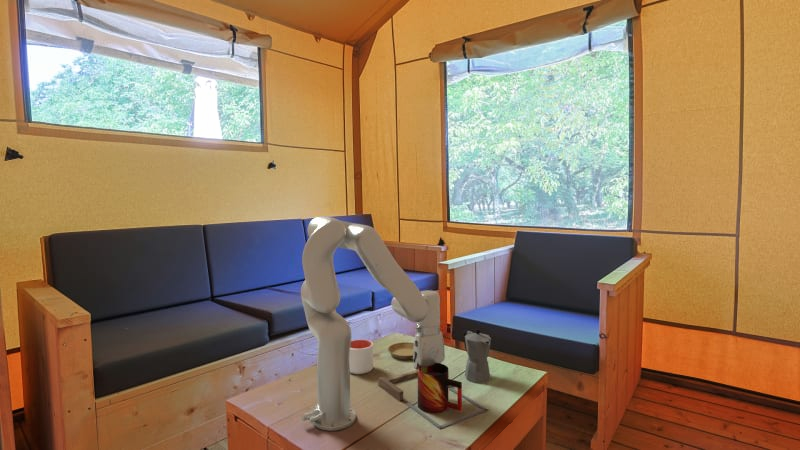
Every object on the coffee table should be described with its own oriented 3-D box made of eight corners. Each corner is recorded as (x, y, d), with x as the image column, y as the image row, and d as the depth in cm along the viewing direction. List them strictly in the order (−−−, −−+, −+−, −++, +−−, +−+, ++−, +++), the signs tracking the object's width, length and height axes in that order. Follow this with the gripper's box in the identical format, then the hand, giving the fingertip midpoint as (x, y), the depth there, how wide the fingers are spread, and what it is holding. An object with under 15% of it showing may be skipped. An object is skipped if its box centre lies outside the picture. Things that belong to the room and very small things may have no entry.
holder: (399, 401, 137) (399, 392, 137) (378, 385, 148) (378, 377, 148) (447, 385, 148) (447, 377, 148) (424, 371, 159) (424, 364, 159)
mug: (461, 415, 128) (462, 376, 127) (416, 412, 130) (416, 374, 129) (462, 399, 138) (462, 363, 137) (419, 397, 140) (419, 361, 139)
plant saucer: (430, 356, 175) (430, 349, 175) (402, 364, 167) (402, 358, 166) (408, 345, 187) (408, 339, 187) (380, 353, 178) (380, 347, 178)
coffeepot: (499, 382, 150) (500, 332, 149) (477, 387, 146) (478, 336, 145) (473, 366, 164) (473, 320, 163) (453, 371, 160) (453, 324, 159)
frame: (439, 429, 121) (439, 428, 121) (405, 404, 135) (405, 403, 135) (487, 410, 131) (487, 409, 131) (451, 388, 146) (451, 387, 146)
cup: (378, 368, 163) (378, 342, 162) (362, 377, 155) (362, 351, 154) (357, 362, 169) (357, 337, 168) (341, 371, 160) (340, 345, 159)
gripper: (416, 336, 132) (416, 394, 134) (453, 327, 140) (453, 381, 142) (402, 330, 138) (403, 385, 140) (438, 322, 146) (439, 373, 148)
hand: (428, 383), depth 141 cm, fingers closed
